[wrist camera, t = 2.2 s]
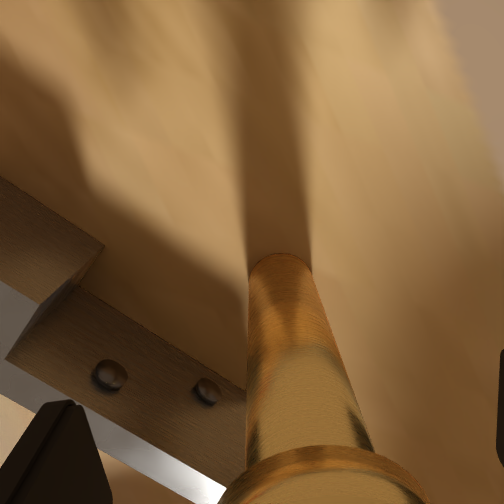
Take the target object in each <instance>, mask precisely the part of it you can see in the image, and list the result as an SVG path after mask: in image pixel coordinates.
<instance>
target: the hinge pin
mask: <svg viewBox="0 0 504 504" xmlns="http://www.w3.org/2000/svg"><path fill="white" fill-rule="evenodd" d="M217 504H431V503H430V501H429V499H428V497H427V495H426V493H425V491H424V490H423V488H422V487H421V485H420V484H419V483H418V481H417V480H416V479H415V478H414V477H413V476H412V475H411V474H410V473H409V472H407V471H406V470H405V469H403V468H402V467H401V466H399V465H398V464H397V463H395V462H393V461H391V460H389V459H388V458H386V457H383V456H381V455H378V454H376V453H375V450H374V447H373V445H372V442H371V439H370V436H369V433H368V431H367V428H366V425H365V422H364V419H363V417H362V414H361V411H360V408H359V405H358V403H357V400H356V397H355V394H354V391H353V389H352V386H351V383H350V380H349V378H348V375H347V372H346V369H345V366H344V364H343V361H342V358H341V355H340V352H339V350H338V347H337V344H336V341H335V338H334V336H333V333H332V330H331V327H330V324H329V322H328V319H327V316H326V313H325V311H324V308H323V305H322V302H321V299H320V297H319V294H318V291H317V288H316V285H315V283H314V280H313V277H312V274H311V272H310V270H309V268H308V266H307V265H306V264H305V263H304V262H303V261H302V260H301V259H299V258H298V257H296V256H293V255H290V254H283V253H279V254H273V255H270V256H267V257H265V258H264V259H262V260H261V261H259V262H258V263H257V264H256V265H255V267H254V268H253V270H252V272H251V275H250V278H249V303H248V350H247V397H246V444H245V471H244V472H243V473H242V474H240V475H239V476H238V477H237V478H236V479H235V480H234V481H233V482H232V483H231V484H230V485H229V487H228V488H227V489H226V490H225V492H224V493H223V494H222V496H221V498H220V499H219V501H218V503H217Z"/></svg>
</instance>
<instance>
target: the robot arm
mask: <svg viewBox="0 0 504 504" xmlns="http://www.w3.org/2000/svg"><path fill="white" fill-rule="evenodd" d="M496 450H497V454H498V457H499V460H500V462H501V464H502V465H503V467H504V349H503V350H502V351H501V354H500V371H499V392H498V414H497V435H496ZM0 504H113V498H112V492H111V489H110V486H109V483H108V480H107V477H106V474H105V471H104V468H103V465H102V462H101V459H100V456H99V453H98V450H97V447H96V444H95V441H94V438H93V435H92V432H91V429H90V426H89V423H88V420H87V416H86V413H85V410H84V408H83V406H82V405H76V403H75V402H74V401H73V400H71V399H67V400H60V401H52V402H46V403H44V404H43V405H42V406H41V408H40V409H39V411H38V412H37V414H36V415H35V417H34V418H33V420H32V421H31V423H30V424H29V426H28V427H27V429H26V430H25V432H24V433H23V435H22V436H21V438H20V439H19V441H18V442H17V444H16V445H15V447H14V448H13V450H12V451H11V453H10V454H9V456H8V457H7V459H6V460H5V462H4V463H3V465H2V466H1V468H0Z"/></svg>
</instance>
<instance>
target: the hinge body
mask: <svg viewBox="0 0 504 504" xmlns="http://www.w3.org/2000/svg"><path fill="white" fill-rule="evenodd" d="M104 246H105V245H103V244H102V243H100V242H99V241H97V240H96V239H94V238H93V237H91V236H90V235H88V234H86V233H85V232H83V231H82V230H80V229H79V228H77V227H76V226H74V225H73V224H71V223H70V222H68V221H67V220H65V219H64V218H62V217H61V216H59V215H58V214H56V213H55V212H53V211H52V210H50V209H49V208H47V207H46V206H44V205H43V204H41V203H40V202H38V201H37V200H35V199H34V198H32V197H31V196H29V195H28V194H26V193H25V192H23V191H22V190H20V189H19V188H17V187H15V186H14V185H12V184H11V183H9V182H8V181H6V180H5V179H3V178H2V177H0V394H2V395H4V396H5V397H7V398H9V399H11V400H12V401H14V402H16V403H18V404H20V405H21V406H23V407H25V408H27V409H28V410H30V411H32V412H34V413H36V414H37V412H38V411H39V409H40V408H41V406H42V405H43V404H44V403H46V402H52V401H60V400H67V399H71V400H73V401H74V402H75V403H76V405H82V406H83V408H84V410H85V413H86V416H87V420H88V423H89V426H90V429H91V432H92V435H93V438H94V441H95V444H96V447H97V448H98V449H99V450H101V451H103V452H105V453H107V454H108V455H110V456H112V457H114V458H115V459H117V460H119V461H121V462H123V463H124V464H126V465H128V466H130V467H131V468H133V469H135V470H137V471H139V472H140V473H142V474H144V475H146V476H147V477H149V478H151V479H153V480H155V481H156V482H158V483H160V484H162V485H163V486H165V487H167V488H169V489H171V490H172V491H174V492H176V493H178V494H179V495H181V496H183V497H185V498H187V499H188V500H190V501H192V502H194V503H195V504H217V503H218V501H219V499H220V498H221V496H222V494H223V493H224V492H225V490H226V489H227V488H228V487H229V485H230V484H231V483H232V482H233V481H234V480H235V479H236V478H237V477H238V476H239V475H240V474H242V473H243V472H244V471H245V444H246V397H247V393H246V392H244V391H243V390H241V389H240V388H238V387H237V386H235V385H233V384H232V383H230V382H229V381H227V380H226V379H224V378H222V377H221V376H219V375H218V374H216V373H215V372H213V371H211V370H210V369H208V368H207V367H205V366H203V365H202V364H200V363H199V362H197V361H196V360H194V359H192V358H191V357H189V356H188V355H186V354H185V353H183V352H181V351H180V350H178V349H177V348H175V347H174V346H172V345H170V344H169V343H167V342H166V341H164V340H162V339H161V338H159V337H158V336H156V335H155V334H153V333H151V332H150V331H148V330H147V329H145V328H144V327H142V326H140V325H139V324H137V323H136V322H134V321H133V320H131V319H129V318H128V317H126V316H125V315H123V314H122V313H120V312H118V311H117V310H115V309H114V308H112V307H110V306H109V305H107V304H106V303H104V302H103V301H101V300H99V299H98V298H96V297H95V296H93V295H92V294H90V293H88V292H87V291H85V290H84V289H82V288H81V287H79V286H78V284H79V283H80V281H81V280H82V278H83V277H84V275H85V274H86V272H87V271H88V269H89V268H90V266H91V265H92V263H93V262H94V260H95V259H96V257H97V256H98V254H99V253H100V251H101V250H102V249H103V247H104Z"/></svg>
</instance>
